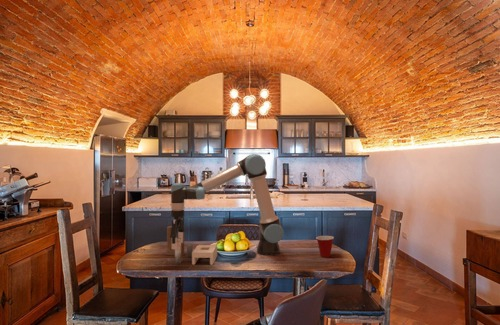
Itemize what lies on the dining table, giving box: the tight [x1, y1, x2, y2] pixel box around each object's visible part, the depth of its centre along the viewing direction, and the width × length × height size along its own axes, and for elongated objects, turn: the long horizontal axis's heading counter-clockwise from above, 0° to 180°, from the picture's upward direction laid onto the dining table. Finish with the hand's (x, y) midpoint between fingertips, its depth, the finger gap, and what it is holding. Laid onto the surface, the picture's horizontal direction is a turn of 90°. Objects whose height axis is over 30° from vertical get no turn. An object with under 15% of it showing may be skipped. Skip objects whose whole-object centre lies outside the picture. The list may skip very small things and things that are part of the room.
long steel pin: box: [174, 237, 182, 265], centre depth 188 cm, size 4×4×14 cm
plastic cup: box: [315, 235, 334, 258], centre depth 199 cm, size 11×11×12 cm
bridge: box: [191, 244, 218, 266], centre depth 192 cm, size 12×16×7 cm
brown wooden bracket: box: [165, 225, 185, 257], centre depth 203 cm, size 4×11×18 cm, turn 85°
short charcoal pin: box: [186, 244, 194, 258], centre depth 200 cm, size 4×4×7 cm
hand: (177, 245), depth 188 cm, fingers open, 13 cm apart
